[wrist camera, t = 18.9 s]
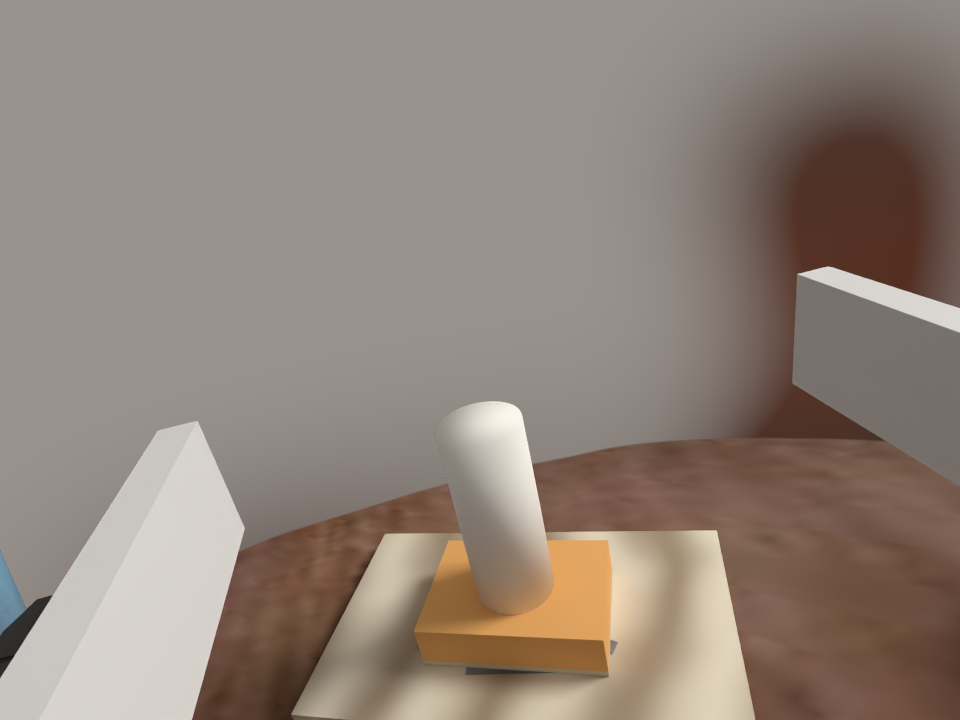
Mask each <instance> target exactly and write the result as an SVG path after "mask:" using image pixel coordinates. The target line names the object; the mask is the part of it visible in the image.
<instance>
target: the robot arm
mask: <svg viewBox="0 0 960 720" xmlns="http://www.w3.org/2000/svg"><path fill="white" fill-rule="evenodd" d="M795 317H796V318H795V338H794V359H793V384H794V385H796V386H798V387H799V388H801V389H803V390H804V391H806V392H807V393H809V394H811V395H812V396H814V397H816V398H817V399H819V400H820V401H822V402H824V403H825V404H827V405H829V406H830V407H832V408H833V409H835V410H837V411H838V412H840V413H841V414H843V415H845V416H846V417H848V418H850V419H851V420H853V421H855V422H856V423H858V424H859V425H861V426H863V427H864V428H866V429H868V430H869V431H871V432H872V433H874V434H876V435H877V436H879V437H881V438H882V439H884V440H885V441H887V442H889V443H890V444H892V445H893V446H895V447H897V448H898V449H900V450H902V451H903V452H905V453H906V454H908V455H910V456H911V457H913V458H915V459H916V460H918V461H919V462H921V463H923V464H924V465H926V466H927V467H929V468H931V469H932V470H934V471H936V472H937V473H939V474H940V475H942V476H944V477H945V478H947V479H949V480H950V481H952V482H953V483H955V484H957V485H958V486H960V308H957V307H954V306H951V305H948V304H944V303H941V302H938V301H935V300H932V299H929V298H926V297H923V296H919V295H916V294H913V293H910V292H907V291H904V290H900V289H897V288H894V287H891V286H888V285H885V284H882V283H879V282H876V281H872V280H869V279H866V278H863V277H860V276H857V275H853V274H851V273H848V272H844V271H841V270H838V269H835V268H832V267H829V266H828V267H824V268H820V269H816V270H812V271H808V272H804V273H800V274H797V296H796V316H795ZM244 529H245V528H244V526H243V523H242V521H241V519H240V517H239V515H238V512H237V510H236V508H235V505H234V503H233V501H232V498H231V496H230V494H229V492H228V489H227V487H226V485H225V483H224V480H223V478H222V476H221V473H220V471H219V469H218V467H217V464H216V462H215V460H214V458H213V455H212V453H211V451H210V448H209V446H208V444H207V442H206V439H205V437H204V435H203V432H202V430H201V428H200V426H199V423H198V421H195V422H191V423H187V424H183V425H179V426H175V427H171V428H166V429H163V430H158V432H157V433H156V435H155V436H154V438H153V440H152V441H151V443H150V444H149V446H148V447H147V449H146V450H145V452H144V454H143V455H142V457H141V458H140V460H139V461H138V463H137V465H136V466H135V468H134V469H133V471H132V472H131V474H130V476H129V477H128V479H127V480H126V482H125V483H124V485H123V487H122V488H121V490H120V491H119V493H118V494H117V496H116V498H115V499H114V501H113V502H112V504H111V505H110V507H109V508H108V510H107V512H106V513H105V515H104V516H103V518H102V519H101V521H100V523H99V524H98V526H97V527H96V529H95V530H94V532H93V534H92V535H91V537H90V538H89V540H88V542H87V543H86V545H85V546H84V548H83V549H82V551H81V552H80V554H79V556H78V557H77V559H76V560H75V562H74V563H73V565H72V567H71V568H70V570H69V571H68V573H67V574H66V576H65V578H64V579H63V581H62V582H61V584H60V585H59V587H58V588H57V590H56V592H55V593H54V595H52V596H48V597H44V598H41V599H37V600H36V601H35V602H34V603H33V604H32V605H31V606H30V607H28V608H27V609H26V607H25V605H24V602H23V600H22V598H21V595H20V593H19V591H18V589H17V586H16V584H15V582H14V580H13V577H12V575H11V573H10V570H9V568H8V566H7V564H6V562H5V560H4V558H3V556H2V553H1V551H0V720H192V717H193V714H194V710H195V706H196V703H197V699H198V696H199V692H200V688H201V685H202V681H203V677H204V674H205V670H206V667H207V663H208V659H209V656H210V652H211V648H212V645H213V641H214V638H215V634H216V630H217V627H218V623H219V620H220V616H221V612H222V609H223V605H224V601H225V598H226V594H227V591H228V587H229V583H230V580H231V576H232V572H233V569H234V565H235V562H236V558H237V554H238V551H239V547H240V544H241V540H242V536H243V532H244Z"/></svg>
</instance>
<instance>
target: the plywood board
mask: <svg viewBox="0 0 960 720" xmlns="http://www.w3.org/2000/svg"><path fill="white" fill-rule="evenodd" d="M545 533H546V538H547V540H608V544H609V551H610V558H611V565H612V572H613V576H612V607H611V638H610V669H609V676H600V675H584V674H568V673H552V672H537V671H521V670H505V669H490V668H474V667H458V666H442V665H427V664H424V661H423V658H422V655H421V652H420V649H419V646H418V643H417V640H416V637H415V635H414V629H415V627H416V624H417V621H418V619H419V616H420V614H421V611H422V608H423V606H424V603H425V601H426V598H427V595H428V593H429V590H430V588H431V585H432V583H433V580H434V577H435V575H436V572H437V570H438V567H439V564H440V562H441V559H442V557H443V554H444V551H445V549H446V546H447V544H448V541H449V540H463V538H462V534H461V533H430V534H385V535H384V537H383V539H382V541H381V543H380V545H379V547H378V549H377V551H376V552H375V554H374V556H373V558H372V560H371V562H370V564H369V566H368V568H367V570H366V572H365V574H364V575H363V577H362V579H361V581H360V583H359V585H358V587H357V589H356V591H355V593H354V595H353V597H352V599H351V600H350V602H349V604H348V606H347V608H346V610H345V612H344V614H343V616H342V618H341V620H340V622H339V624H338V625H337V627H336V629H335V631H334V633H333V635H332V637H331V639H330V641H329V643H328V645H327V647H326V648H325V650H324V652H323V654H322V656H321V658H320V660H319V662H318V664H317V666H316V668H315V670H314V672H313V673H312V675H311V677H310V679H309V681H308V683H307V685H306V687H305V689H304V691H303V693H302V695H301V696H300V698H299V700H298V702H297V704H296V706H295V708H294V710H293V712H292V714H291V716H292V718H293V720H755V716H754V711H753V706H752V701H751V696H750V691H749V686H748V681H747V677H746V672H745V667H744V662H743V657H742V652H741V647H740V642H739V637H738V633H737V628H736V623H735V618H734V613H733V608H732V603H731V598H730V593H729V589H728V584H727V579H726V574H725V569H724V564H723V559H722V554H721V550H720V545H719V540H718V535H717V531H622V532H545Z"/></svg>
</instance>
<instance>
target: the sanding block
mask: <svg viewBox="0 0 960 720" xmlns="http://www.w3.org/2000/svg"><path fill="white" fill-rule="evenodd" d="M435 438H436V441H437V445H438V449H439V453H440V456H441V460H442V464H443V467H444V471H445V475H446V479H447V482H448V486H449V490H450V493H451V497H452V501H453V505H454V508H455V512H456V516H457V519H458V523H459V527H460V531H461V534H462V538H463V540H449V541H448V544H447V546H446V549H445V551H444V554H443V557H442V559H441V562H440V564H439V567H438V570H437V572H436V575H435V577H434V580H433V583H432V585H431V588H430V590H429V593H428V595H427V598H426V601H425V603H424V606H423V608H422V611H421V614H420V616H419V619H418V621H417V624H416V627H415V629H414V635H415V637H416V640H417V643H418V646H419V649H420V652H421V655H422V658H423V661H424V664H427V665H442V666H458V667H474V668H490V669H505V670H521V671H537V672H552V673H568V674H584V675H600V676H609V669H610V638H611V607H612V576H613V572H612V565H611V558H610V551H609V544H608V540H547V538H546V533H545V528H544V523H543V518H542V513H541V508H540V503H539V498H538V493H537V488H536V483H535V478H534V473H533V468H532V463H531V458H530V453H529V448H528V443H527V438H526V433H525V428H524V423H523V418H522V414H521V412H520V410H519V409H518V408H517V407H515V406H514V405H512V404H509V403H504V402H498V401H490V402H480V403H475V404H470V405H467V406H464V407H461V408H459V409H457V410H455V411H453V412H451V413H449V414H448V415H446V416H445V417H444V418H443V419H442V420H440V422H439V423H438V424H437V426H436V428H435Z"/></svg>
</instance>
